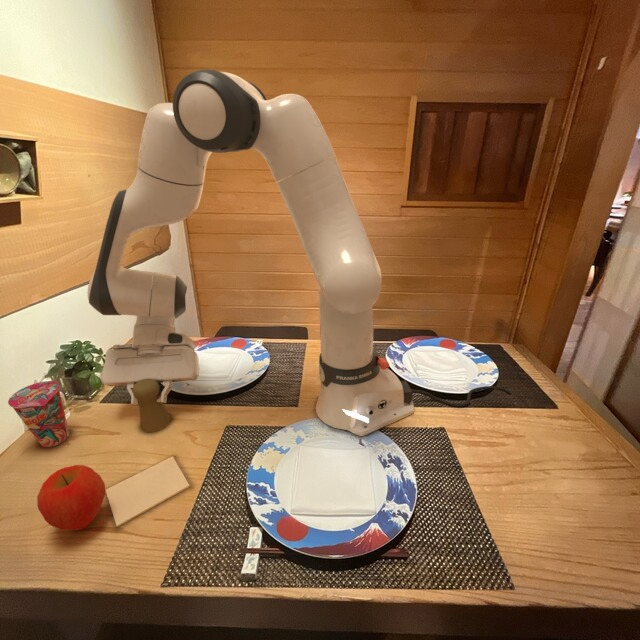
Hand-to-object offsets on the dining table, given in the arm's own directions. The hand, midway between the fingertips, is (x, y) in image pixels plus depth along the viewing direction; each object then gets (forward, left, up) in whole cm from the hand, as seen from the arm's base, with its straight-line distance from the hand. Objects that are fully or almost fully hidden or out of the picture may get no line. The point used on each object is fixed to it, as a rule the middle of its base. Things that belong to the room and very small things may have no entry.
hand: (148, 403), depth 77 cm
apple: (+9, +21, -6) cm, 24 cm away
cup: (+20, -3, -6) cm, 21 cm away
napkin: (0, +18, -6) cm, 19 cm away
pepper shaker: (0, -1, -6) cm, 6 cm away
